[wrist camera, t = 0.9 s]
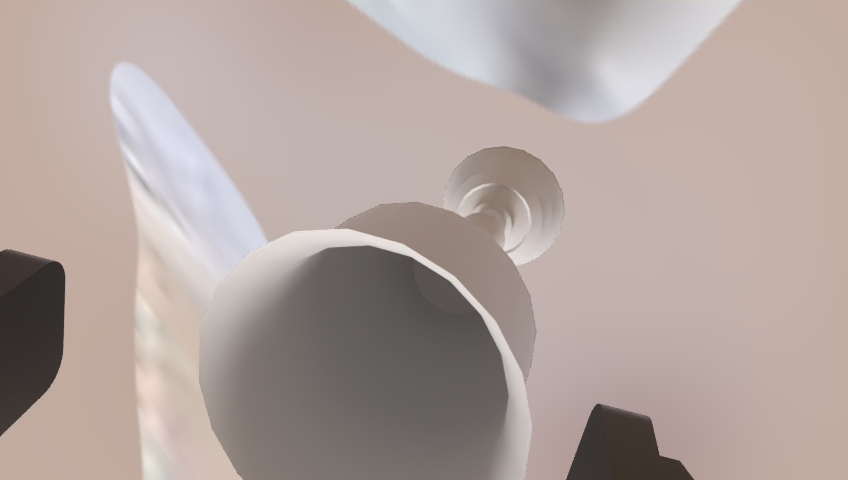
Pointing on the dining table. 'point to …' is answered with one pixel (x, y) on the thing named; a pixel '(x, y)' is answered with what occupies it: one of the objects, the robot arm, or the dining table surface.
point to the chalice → (387, 337)
